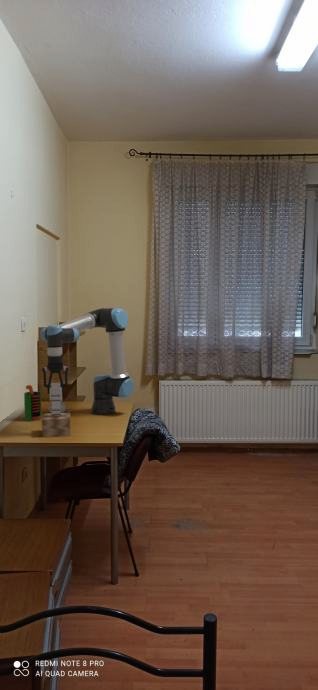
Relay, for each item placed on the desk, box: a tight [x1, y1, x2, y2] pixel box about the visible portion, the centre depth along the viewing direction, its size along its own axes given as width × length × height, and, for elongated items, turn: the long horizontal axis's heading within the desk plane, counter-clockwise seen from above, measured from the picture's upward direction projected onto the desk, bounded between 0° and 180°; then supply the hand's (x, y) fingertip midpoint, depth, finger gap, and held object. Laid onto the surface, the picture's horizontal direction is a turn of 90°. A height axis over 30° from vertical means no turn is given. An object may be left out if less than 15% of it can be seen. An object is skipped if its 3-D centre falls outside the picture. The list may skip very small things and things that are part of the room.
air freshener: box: [48, 399, 68, 414], centre depth 317 cm, size 11×8×10 cm
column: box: [50, 382, 61, 417], centre depth 268 cm, size 5×5×20 cm
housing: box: [41, 412, 71, 438], centre depth 269 cm, size 14×14×10 cm
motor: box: [23, 384, 42, 422], centre depth 301 cm, size 10×9×20 cm
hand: (56, 399), depth 268 cm, fingers closed on column, 5 cm apart
